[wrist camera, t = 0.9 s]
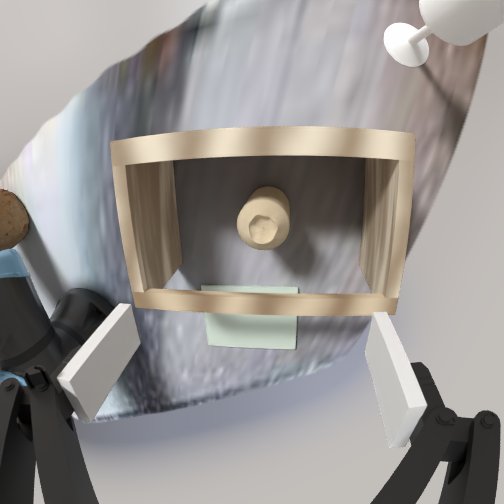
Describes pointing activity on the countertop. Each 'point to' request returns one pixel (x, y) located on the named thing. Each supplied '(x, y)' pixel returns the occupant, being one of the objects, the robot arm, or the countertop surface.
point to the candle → (264, 219)
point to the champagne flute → (443, 27)
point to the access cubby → (261, 144)
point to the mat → (251, 323)
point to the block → (11, 220)
